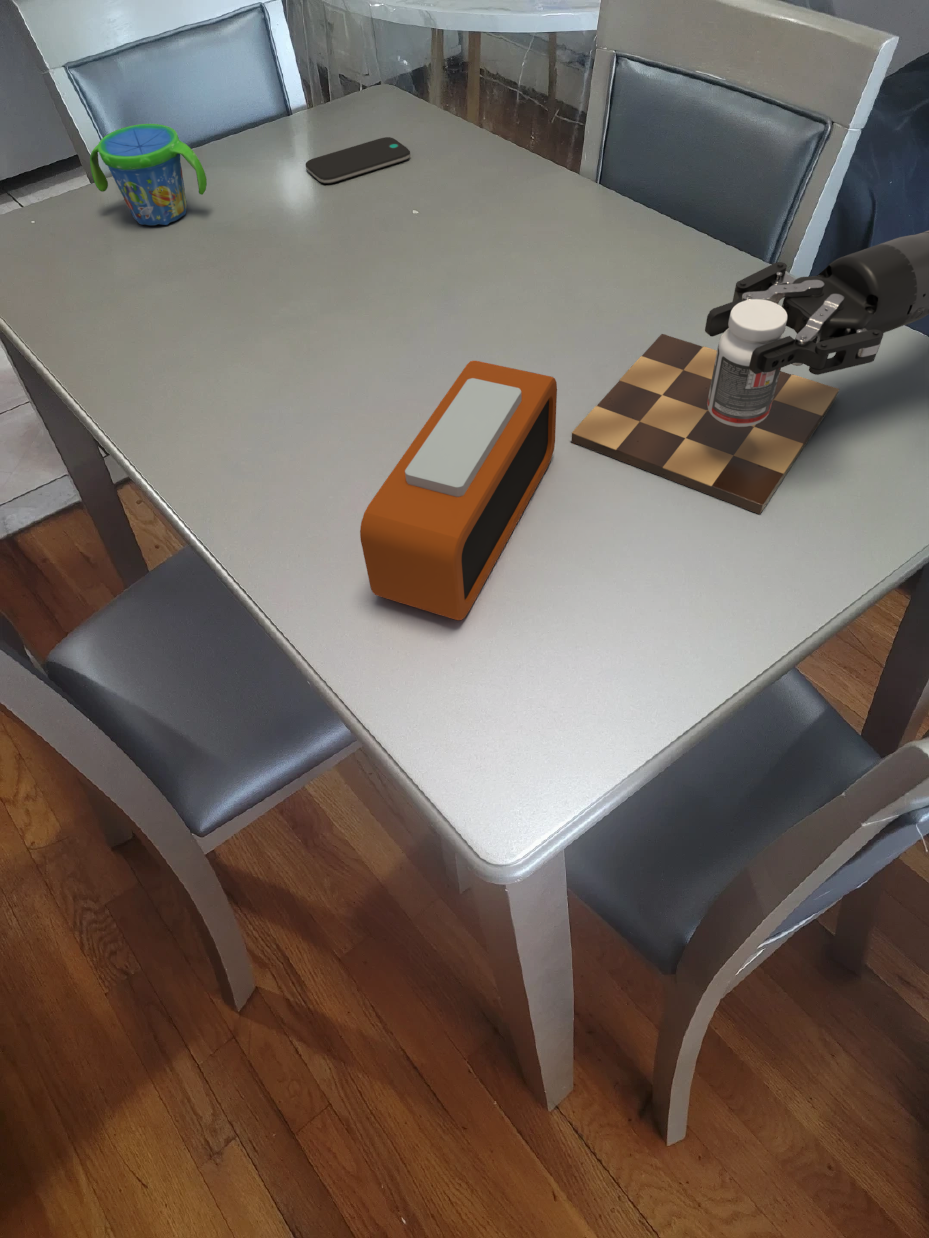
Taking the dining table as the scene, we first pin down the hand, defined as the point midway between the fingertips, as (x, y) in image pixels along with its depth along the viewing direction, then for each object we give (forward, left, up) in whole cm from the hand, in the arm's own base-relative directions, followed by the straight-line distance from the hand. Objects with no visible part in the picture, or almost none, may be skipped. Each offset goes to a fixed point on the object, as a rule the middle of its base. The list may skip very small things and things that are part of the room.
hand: (731, 343), depth 74 cm
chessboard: (+3, -6, -13) cm, 15 cm away
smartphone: (+72, -35, -13) cm, 81 cm away
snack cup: (+87, -9, -14) cm, 88 cm away
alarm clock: (+15, +19, -14) cm, 28 cm away
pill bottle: (-1, -2, -8) cm, 9 cm away
